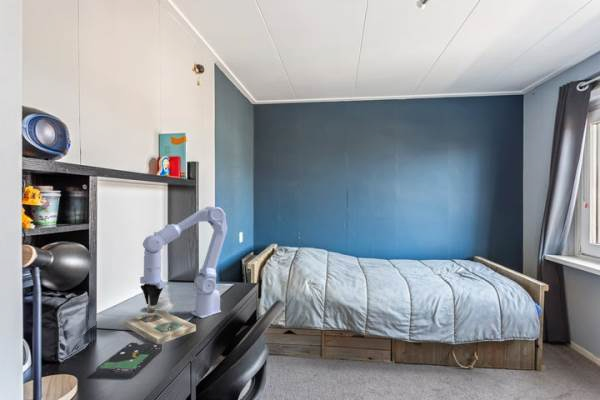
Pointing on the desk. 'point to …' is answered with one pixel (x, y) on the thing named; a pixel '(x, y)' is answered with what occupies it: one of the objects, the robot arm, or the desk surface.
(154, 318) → the dock board
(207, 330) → the desk surface
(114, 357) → the disk drive
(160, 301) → the mechanical component
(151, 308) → the steel pin
